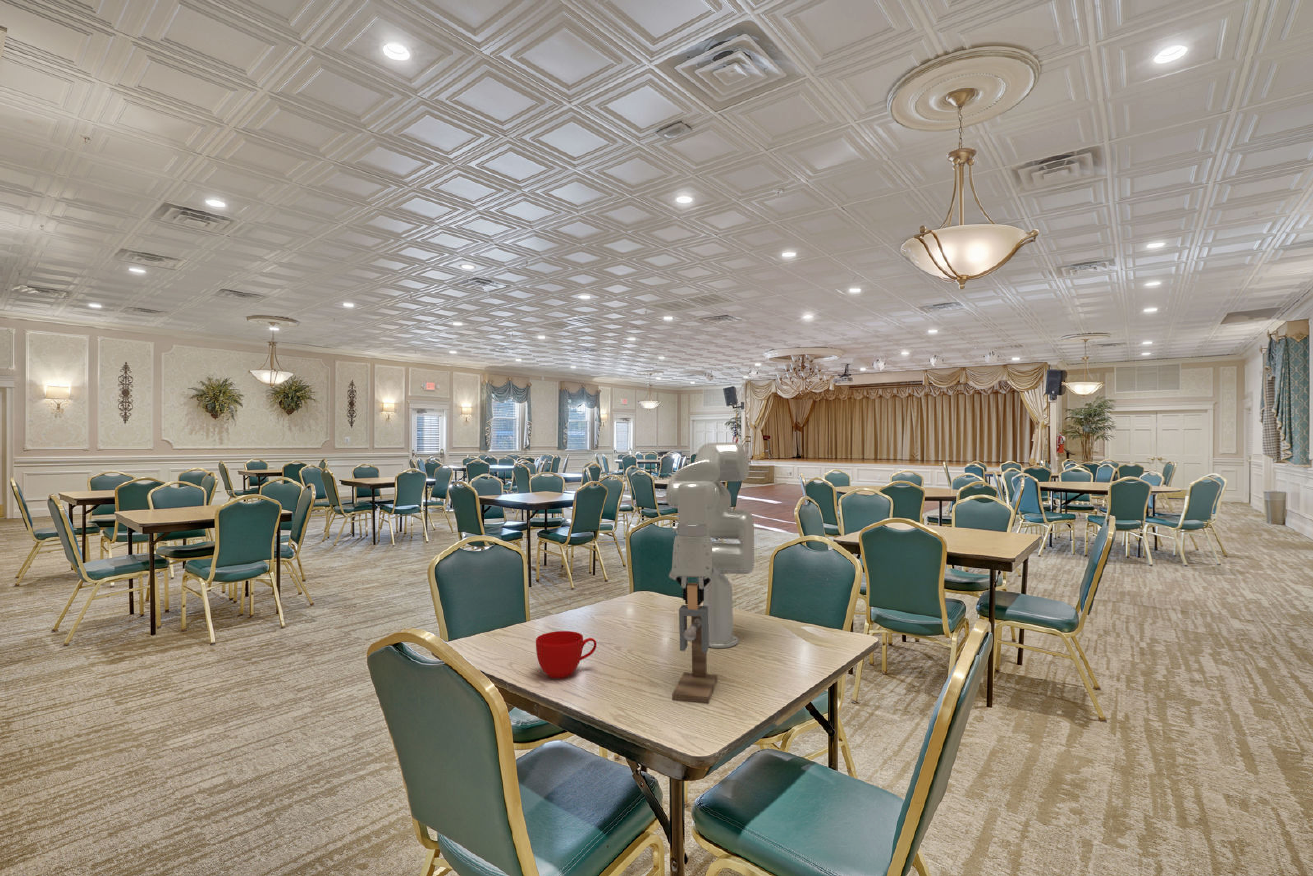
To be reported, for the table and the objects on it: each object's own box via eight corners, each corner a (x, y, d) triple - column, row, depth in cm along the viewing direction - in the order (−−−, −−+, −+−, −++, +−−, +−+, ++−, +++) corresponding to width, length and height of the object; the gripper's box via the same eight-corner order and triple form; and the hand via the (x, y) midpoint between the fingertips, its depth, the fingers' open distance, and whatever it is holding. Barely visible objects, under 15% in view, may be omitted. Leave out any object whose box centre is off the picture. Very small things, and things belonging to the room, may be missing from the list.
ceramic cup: (602, 677, 160) (602, 640, 160) (539, 686, 154) (539, 647, 155) (591, 661, 172) (591, 627, 173) (532, 669, 167) (532, 634, 167)
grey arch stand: (679, 650, 149) (678, 585, 149) (683, 645, 153) (681, 581, 153) (706, 652, 147) (705, 587, 147) (708, 646, 151) (707, 582, 151)
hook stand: (684, 677, 159) (683, 606, 160) (717, 680, 157) (716, 608, 157) (671, 701, 144) (670, 623, 144) (708, 704, 141) (706, 625, 142)
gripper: (658, 532, 149) (659, 605, 148) (722, 533, 145) (723, 608, 145) (665, 528, 156) (666, 598, 156) (725, 529, 153) (727, 601, 152)
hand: (693, 602), depth 150 cm, fingers closed on grey arch stand, 2 cm apart
